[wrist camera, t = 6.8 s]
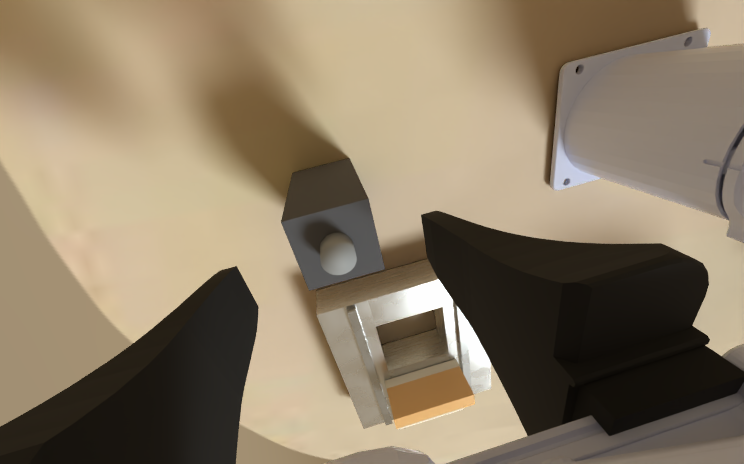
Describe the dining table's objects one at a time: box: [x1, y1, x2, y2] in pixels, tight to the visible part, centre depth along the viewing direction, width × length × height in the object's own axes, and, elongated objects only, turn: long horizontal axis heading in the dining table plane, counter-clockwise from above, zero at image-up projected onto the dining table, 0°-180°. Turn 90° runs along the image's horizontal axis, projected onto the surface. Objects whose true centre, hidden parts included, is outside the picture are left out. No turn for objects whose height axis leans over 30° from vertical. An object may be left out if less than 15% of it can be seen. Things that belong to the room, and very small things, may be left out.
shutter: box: [385, 359, 475, 430], centre depth 24 cm, size 6×6×3 cm
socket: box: [316, 259, 491, 429], centre depth 24 cm, size 12×14×3 cm
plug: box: [281, 158, 385, 291], centre depth 15 cm, size 4×4×8 cm
